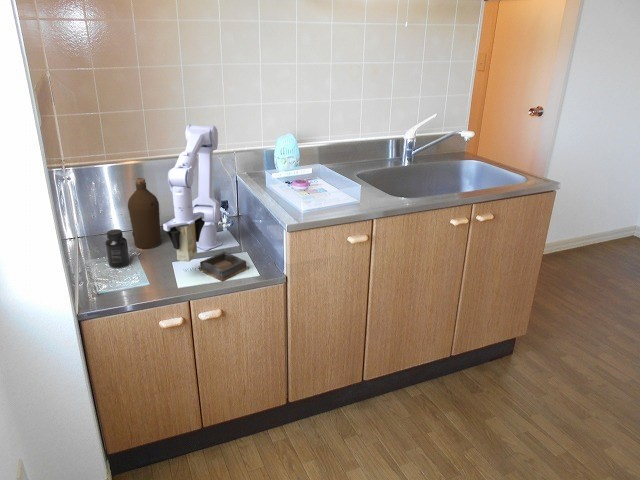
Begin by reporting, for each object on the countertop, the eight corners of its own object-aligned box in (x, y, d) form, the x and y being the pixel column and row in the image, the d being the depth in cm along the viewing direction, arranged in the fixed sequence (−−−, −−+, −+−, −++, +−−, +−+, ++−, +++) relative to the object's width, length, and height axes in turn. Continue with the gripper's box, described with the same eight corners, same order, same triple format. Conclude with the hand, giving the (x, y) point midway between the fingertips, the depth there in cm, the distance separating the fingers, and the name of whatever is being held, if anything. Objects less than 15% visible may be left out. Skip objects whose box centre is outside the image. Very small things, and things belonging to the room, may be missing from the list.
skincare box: (189, 262, 159) (186, 227, 154) (176, 260, 160) (173, 226, 155) (198, 254, 165) (195, 220, 160) (186, 252, 166) (183, 218, 161)
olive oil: (166, 238, 189) (160, 175, 178) (157, 250, 179) (149, 184, 169) (139, 237, 189) (131, 174, 179) (128, 249, 180) (119, 183, 169)
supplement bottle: (134, 261, 171) (129, 229, 166) (120, 270, 165) (116, 237, 160) (117, 258, 173) (113, 226, 168) (104, 266, 167) (98, 234, 162)
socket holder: (198, 269, 167) (197, 261, 166) (225, 258, 176) (224, 250, 174) (222, 281, 160) (221, 273, 159) (248, 268, 169) (248, 260, 168)
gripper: (171, 215, 147) (175, 255, 153) (209, 202, 158) (212, 241, 164) (157, 209, 151) (161, 249, 157) (195, 197, 162) (198, 235, 168)
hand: (186, 244), depth 161 cm, fingers closed on skincare box, 7 cm apart
